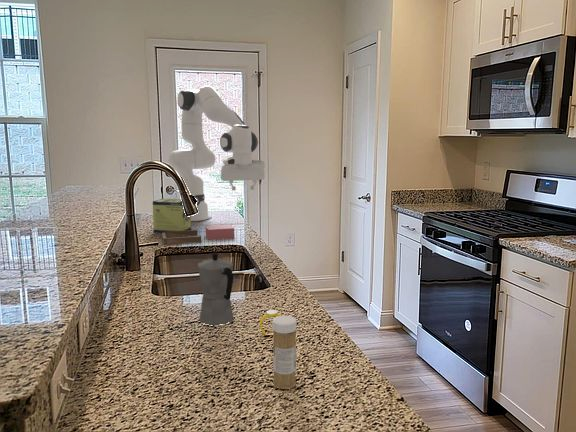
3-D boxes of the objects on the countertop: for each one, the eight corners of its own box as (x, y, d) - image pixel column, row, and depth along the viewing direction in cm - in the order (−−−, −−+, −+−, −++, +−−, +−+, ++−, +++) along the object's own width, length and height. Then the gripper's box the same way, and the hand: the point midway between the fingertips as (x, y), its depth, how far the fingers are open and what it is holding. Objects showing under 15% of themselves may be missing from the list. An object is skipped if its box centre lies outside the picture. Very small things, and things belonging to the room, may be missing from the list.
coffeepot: (189, 316, 126) (187, 250, 123) (221, 308, 131) (219, 245, 128) (215, 336, 113) (213, 263, 110) (249, 327, 119) (248, 257, 116)
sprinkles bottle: (278, 377, 94) (278, 313, 92) (299, 381, 93) (300, 316, 90) (269, 388, 90) (268, 321, 88) (291, 393, 89) (291, 325, 86)
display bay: (162, 237, 221) (162, 231, 220) (197, 234, 226) (197, 229, 225) (164, 244, 206) (163, 238, 206) (201, 241, 211) (201, 236, 211)
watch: (261, 339, 113) (259, 315, 111) (260, 334, 115) (257, 311, 114) (286, 335, 114) (284, 312, 112) (284, 331, 116) (282, 308, 115)
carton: (205, 236, 224) (205, 226, 223) (230, 234, 227) (230, 224, 226) (208, 240, 215) (208, 229, 214) (234, 238, 219) (234, 228, 218)
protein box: (183, 234, 228) (181, 202, 225) (153, 232, 231) (151, 201, 228) (191, 229, 238) (190, 199, 235) (163, 228, 241) (161, 198, 238)
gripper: (262, 159, 225) (263, 188, 227) (219, 160, 219) (220, 190, 221) (266, 160, 219) (266, 189, 221) (221, 160, 213) (222, 191, 215)
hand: (243, 190), depth 221 cm, fingers open, 7 cm apart
